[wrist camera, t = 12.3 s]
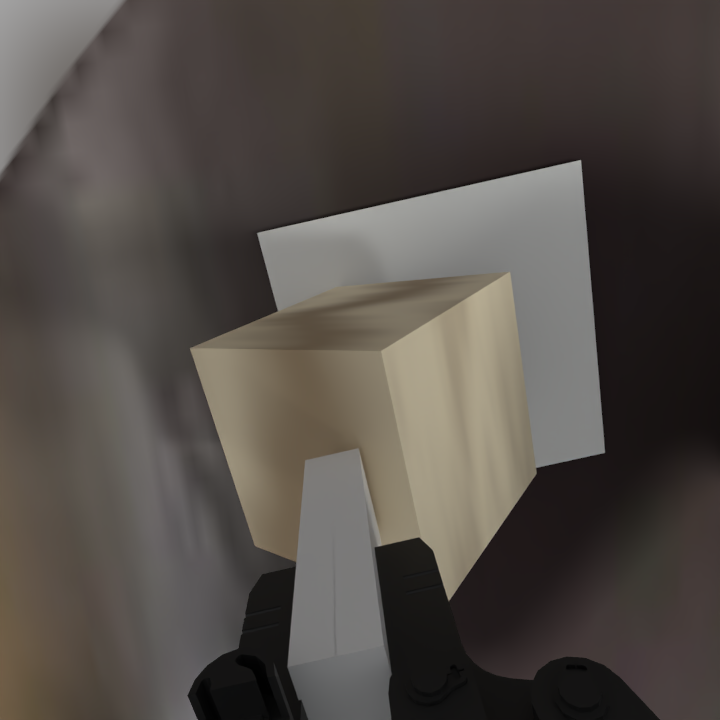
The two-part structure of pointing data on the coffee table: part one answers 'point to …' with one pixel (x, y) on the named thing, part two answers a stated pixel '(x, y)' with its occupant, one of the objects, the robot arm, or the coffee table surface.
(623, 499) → the coffee table surface
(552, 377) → the grey mat
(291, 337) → the maple cube
